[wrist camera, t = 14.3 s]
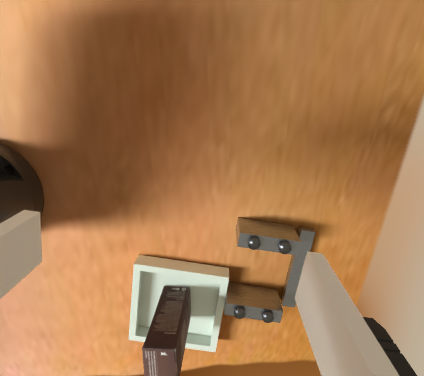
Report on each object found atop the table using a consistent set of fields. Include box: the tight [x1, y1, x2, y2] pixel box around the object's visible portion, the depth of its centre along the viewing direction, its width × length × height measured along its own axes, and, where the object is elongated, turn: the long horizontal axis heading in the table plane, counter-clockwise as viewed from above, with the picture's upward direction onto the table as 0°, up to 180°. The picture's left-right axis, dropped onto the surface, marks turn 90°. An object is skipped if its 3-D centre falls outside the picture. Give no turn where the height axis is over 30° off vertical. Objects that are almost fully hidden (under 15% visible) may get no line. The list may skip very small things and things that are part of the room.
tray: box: [129, 255, 229, 352], centre depth 46 cm, size 14×14×3 cm
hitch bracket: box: [224, 217, 315, 323], centre depth 42 cm, size 11×13×6 cm
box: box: [142, 286, 191, 376], centre depth 41 cm, size 6×4×12 cm
